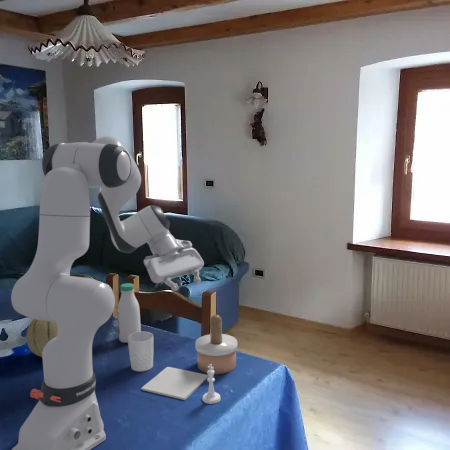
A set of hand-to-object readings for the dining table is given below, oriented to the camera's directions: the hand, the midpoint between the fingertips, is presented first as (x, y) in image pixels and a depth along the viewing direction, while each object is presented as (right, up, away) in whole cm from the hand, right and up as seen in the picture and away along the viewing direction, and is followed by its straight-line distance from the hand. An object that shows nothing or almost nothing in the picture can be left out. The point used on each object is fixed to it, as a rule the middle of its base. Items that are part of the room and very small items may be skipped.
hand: (187, 286), depth 154 cm
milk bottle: (-22, -21, +17) cm, 35 cm away
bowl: (+9, -24, -4) cm, 26 cm away
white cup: (-14, -25, -4) cm, 29 cm away
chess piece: (+8, -28, -23) cm, 37 cm away
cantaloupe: (-45, -24, +5) cm, 51 cm away
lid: (+9, -18, -5) cm, 21 cm away
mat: (-2, -26, -15) cm, 30 cm away
